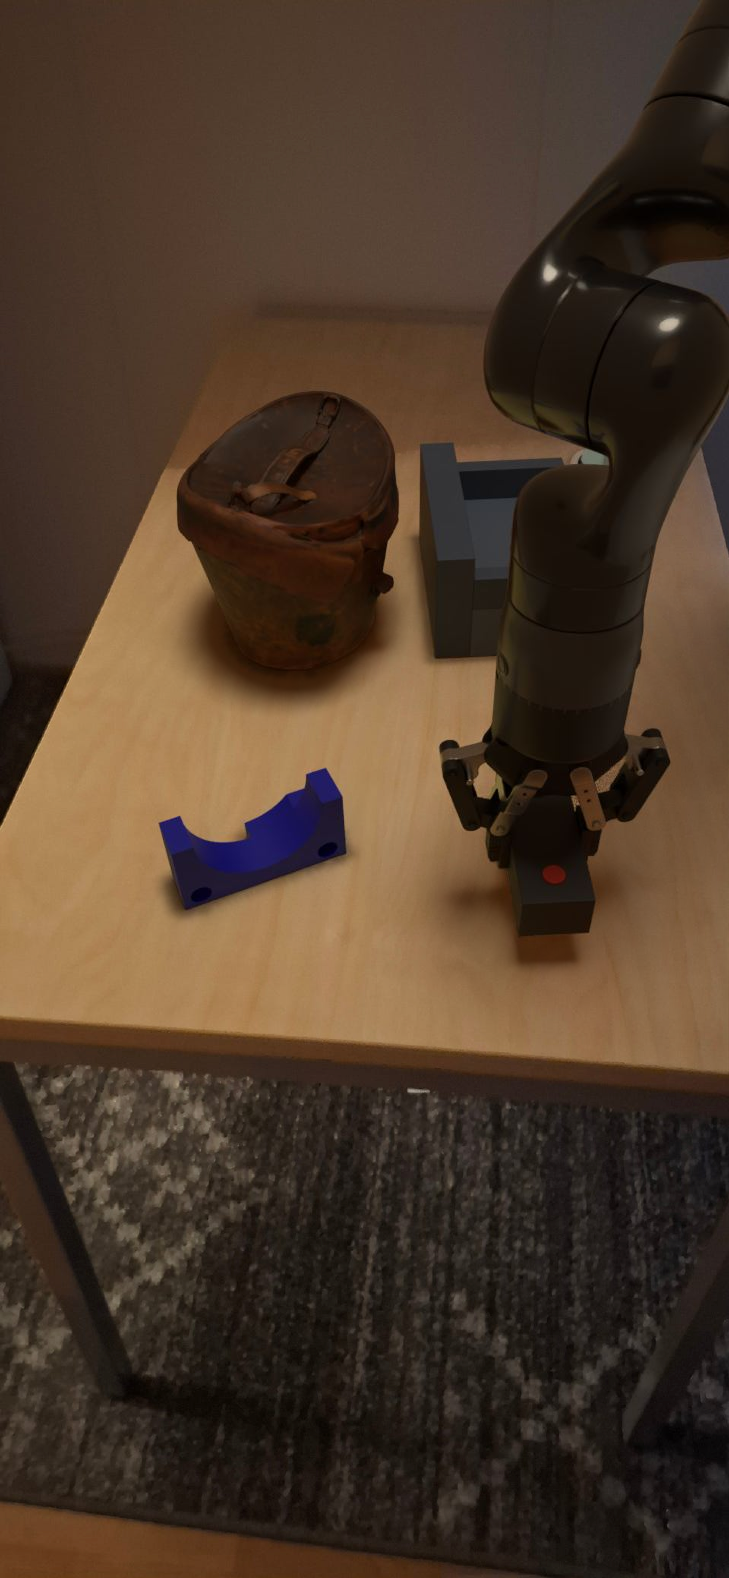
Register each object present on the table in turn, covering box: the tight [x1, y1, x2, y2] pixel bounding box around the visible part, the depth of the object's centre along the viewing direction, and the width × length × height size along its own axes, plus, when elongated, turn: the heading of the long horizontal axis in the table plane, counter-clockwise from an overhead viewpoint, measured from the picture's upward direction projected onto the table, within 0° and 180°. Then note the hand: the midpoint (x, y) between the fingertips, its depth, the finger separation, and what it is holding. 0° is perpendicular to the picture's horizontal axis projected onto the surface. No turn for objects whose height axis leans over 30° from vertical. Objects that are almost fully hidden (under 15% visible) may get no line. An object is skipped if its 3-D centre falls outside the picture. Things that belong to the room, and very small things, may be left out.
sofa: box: [418, 442, 565, 659], centre depth 91 cm, size 13×18×10 cm
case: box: [176, 390, 400, 670], centre depth 86 cm, size 18×20×18 cm
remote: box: [494, 772, 597, 938], centre depth 68 cm, size 4×12×4 cm, turn 2°
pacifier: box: [569, 448, 609, 465], centre depth 106 cm, size 7×6×6 cm
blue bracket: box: [158, 767, 347, 911], centre depth 72 cm, size 12×4×6 cm, turn 114°
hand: (539, 855), depth 69 cm, fingers closed on remote, 4 cm apart
